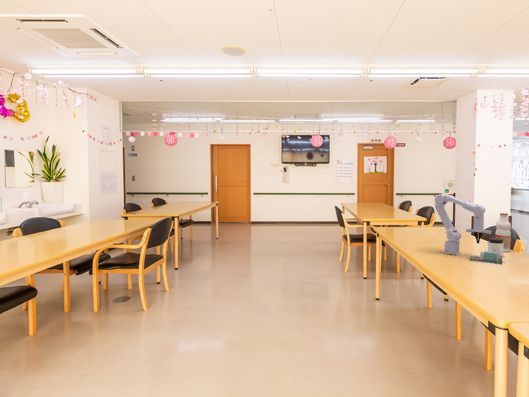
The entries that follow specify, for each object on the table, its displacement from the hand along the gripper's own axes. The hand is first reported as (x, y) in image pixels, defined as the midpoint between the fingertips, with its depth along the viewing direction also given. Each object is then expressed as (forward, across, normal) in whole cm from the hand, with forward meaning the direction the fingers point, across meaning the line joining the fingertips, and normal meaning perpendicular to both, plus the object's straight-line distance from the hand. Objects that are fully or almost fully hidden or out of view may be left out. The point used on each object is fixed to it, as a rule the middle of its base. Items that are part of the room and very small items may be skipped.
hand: (477, 243), depth 236 cm
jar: (+10, +10, +12) cm, 19 cm away
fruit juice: (+10, +14, +33) cm, 37 cm away
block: (+9, +8, -7) cm, 14 cm away
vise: (+10, +5, -7) cm, 13 cm away
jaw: (+9, +3, -7) cm, 11 cm away
